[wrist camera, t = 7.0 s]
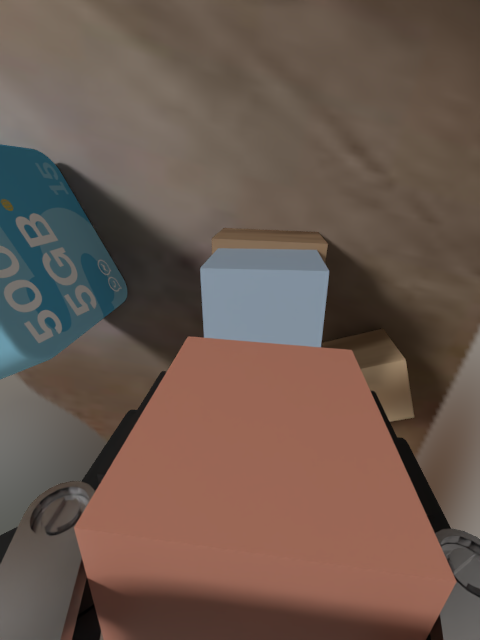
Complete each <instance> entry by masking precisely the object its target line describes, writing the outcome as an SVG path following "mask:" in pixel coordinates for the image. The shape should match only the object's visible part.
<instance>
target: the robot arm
mask: <svg viewBox="0 0 480 640" xmlns="http://www.w3.org/2000/svg"><path fill="white" fill-rule="evenodd" d="M165 374H166V371H162V372H161V373H160V375H159V376H158V378H157V379H156V381H155V383H154V384H153V386H152V387H151V389H150V391H149V392H148V394H147V395H146V397H145V399H144V400H143V402H142V403H141V405H140V407H139V408H138V410H130V411H129V412H128V413H127V414H126V415H125V417H124V418H123V420H122V421H121V423H120V424H119V426H118V427H117V429H116V430H115V432H114V433H113V435H112V436H111V438H110V439H109V441H108V442H107V444H106V445H105V447H104V448H103V450H102V451H101V453H100V454H99V456H98V458H97V459H96V460H95V462H94V463H93V465H92V466H91V468H90V470H89V471H88V473H87V474H86V475H85V477H84V479H83V480H82V481H70V482H66V483H61V484H58V485H56V486H54V487H52V488H50V489H48V490H47V491H45V492H44V493H42V494H41V495H39V496H38V497H37V498H36V499H35V500H34V501H33V502H32V503H31V504H30V506H29V507H28V509H27V510H26V512H25V514H24V515H23V517H22V520H21V522H20V524H19V526H18V527H16V528H14V529H12V530H10V531H8V532H6V533H4V534H2V535H1V536H0V640H104V639H103V635H102V632H101V628H100V624H99V620H98V617H97V613H96V609H95V605H94V602H93V598H92V594H91V590H90V586H89V583H88V579H87V575H86V571H85V568H84V564H83V560H82V556H81V553H80V549H79V545H78V541H77V537H76V534H75V530H74V526H75V525H76V523H77V521H78V520H79V518H80V516H81V515H82V513H83V511H84V510H85V508H86V506H87V505H88V503H89V501H90V500H91V498H92V496H93V495H94V493H95V491H96V490H97V488H98V486H99V485H100V483H101V481H102V480H103V478H104V476H105V475H106V473H107V471H108V469H109V468H110V466H111V464H112V463H113V461H114V459H115V458H116V456H117V454H118V453H119V451H120V449H121V448H122V446H123V444H124V443H125V441H126V439H127V438H128V436H129V434H130V433H131V431H132V429H133V428H134V426H135V424H136V423H137V421H138V419H139V418H140V416H141V414H142V412H143V411H144V409H145V407H146V406H147V404H148V402H149V401H150V399H151V397H152V396H153V394H154V392H155V391H156V389H157V387H158V386H159V384H160V382H161V381H162V379H163V377H164V376H165ZM370 391H371V390H370ZM371 393H372V396H373V398H374V400H375V402H376V404H377V407H378V409H379V411H380V413H381V416H382V418H383V420H384V422H385V424H386V427H387V429H388V431H389V433H390V435H391V438H392V440H393V442H394V444H395V446H396V449H397V451H398V453H399V455H400V458H401V460H402V462H403V464H404V466H405V469H406V471H407V473H408V475H409V477H410V480H411V482H412V484H413V486H414V488H415V491H416V493H417V495H418V497H419V500H420V502H421V504H422V506H423V508H424V511H425V513H426V515H427V517H428V519H429V522H430V524H431V526H432V528H433V531H434V533H435V535H436V537H437V539H438V542H439V544H440V546H441V548H442V550H443V553H444V555H445V557H446V559H447V561H448V564H449V566H450V568H451V570H452V573H453V575H454V577H455V579H456V581H457V582H456V584H455V586H454V588H453V589H452V591H451V593H450V595H449V597H448V599H447V601H446V603H445V605H444V606H443V608H442V610H441V612H440V614H439V616H438V618H437V620H436V622H435V623H434V625H433V627H432V629H431V631H430V633H429V635H428V637H427V639H426V640H480V539H479V538H478V537H476V536H473V535H471V534H469V533H467V532H465V531H461V530H457V529H451V528H450V526H449V524H448V522H447V520H446V518H445V516H444V514H443V512H442V510H441V508H440V506H439V504H438V502H437V500H436V498H435V496H434V494H433V492H432V490H431V488H430V486H429V485H428V482H427V480H426V478H425V476H424V474H423V472H422V470H421V468H420V466H419V464H418V462H417V460H416V458H415V456H414V455H413V453H412V451H411V449H410V447H409V445H408V443H407V442H406V440H405V439H403V438H398V437H397V436H396V434H395V432H394V430H393V428H392V426H391V424H390V422H389V420H388V417H387V415H386V413H385V411H384V409H383V407H382V405H381V403H380V401H379V398H378V396H377V394H376V392H375V391H371Z"/></svg>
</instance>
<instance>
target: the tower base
mask: <svg viewBox="0 0 480 640" xmlns="http://www.w3.org/2000/svg"><path fill="white" fill-rule="evenodd" d="M327 247H328V243H327V242H326V241H325V240H324V239H323V237H322V236H321V235H320V234H319V233H318V232H302V231H279V230H256V229H233V228H223V229H222V230H221V231H220V232H219V233H218V234H217V235H215V236H214V237H213V238H212V254H213V253H214V252H215V251H216V250H217V249H218V248H232V249H297V250H317V251H318V253H319V255H320V256H321V258H322V260H323V261H324V263H325V262H326V254H327Z"/></svg>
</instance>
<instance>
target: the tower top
mask: <svg viewBox="0 0 480 640" xmlns="http://www.w3.org/2000/svg"><path fill="white" fill-rule="evenodd" d="M200 275H201V293H202V311H203V328H204V338H214V339H226V340H238V341H250V342H262V343H274V344H286V345H298V346H310V347H321V342H322V333H323V324H324V315H325V306H326V297H327V288H328V279H329V270H328V268H327V266H326V265H325V263H324V261H323V260H322V258H321V256H320V255H319V253H318V251H317V250H297V249H232V248H218V249H217V250H216V251H215V252H214V253H213V254H212V256H211V257H210V258H209V259H208V260H207V261H206V262H205V263H204V264H203V266H202V267H201V268H200Z"/></svg>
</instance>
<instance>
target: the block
mask: <svg viewBox="0 0 480 640" xmlns="http://www.w3.org/2000/svg"><path fill="white" fill-rule="evenodd" d="M322 347H323V348H334V349H346V350H352V351H353V354H354V356H355V358H356V360H357V362H358V365H359V367H360V369H361V371H362V373H363V376H364V378H365V380H366V382H367V385H368V387H369V389H370V390H371V391H375V392H376V394H377V396H378V398H379V401H380V403H381V405H382V407H383V409H384V411H385V413H386V415H387V417H388V420H389V422H390V421H396V420H402V419H408V418H414V412H413V405H412V399H411V392H410V385H409V379H408V372H407V365H406V360H405V358H404V357H403V355H402V354H401V353H400V351H399V350H398V348H397V347H396V346H395V344H394V343H393V342H392V340H391V339H390V337H389V336H388V335H387V333H386V332H385V331H384V329H379V330H375V331H370V332H366V333H362V334H357V335H353V336H349V337H344V338H340V339H336V340H331V341H327V342H323V343H322Z"/></svg>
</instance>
